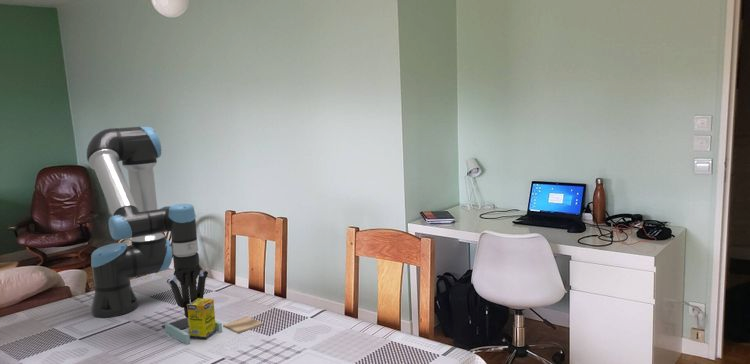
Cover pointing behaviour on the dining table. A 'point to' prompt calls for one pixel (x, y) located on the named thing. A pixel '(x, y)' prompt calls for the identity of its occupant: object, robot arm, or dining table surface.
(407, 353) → the dining table surface
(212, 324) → the supplement box
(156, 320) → the dining table surface
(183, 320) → the mat
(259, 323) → the pad
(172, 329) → the channel
